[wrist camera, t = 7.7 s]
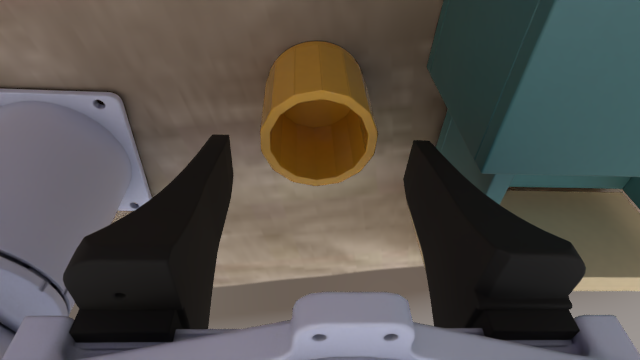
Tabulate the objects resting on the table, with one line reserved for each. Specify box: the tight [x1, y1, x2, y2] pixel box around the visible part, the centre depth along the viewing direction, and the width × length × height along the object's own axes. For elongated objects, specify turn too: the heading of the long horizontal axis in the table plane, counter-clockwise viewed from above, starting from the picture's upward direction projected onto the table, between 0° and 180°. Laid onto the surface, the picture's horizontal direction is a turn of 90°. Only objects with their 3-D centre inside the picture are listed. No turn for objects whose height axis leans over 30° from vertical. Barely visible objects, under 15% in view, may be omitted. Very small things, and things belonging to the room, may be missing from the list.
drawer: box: [407, 110, 640, 298], centre depth 20 cm, size 18×13×6 cm
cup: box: [260, 41, 378, 186], centre depth 18 cm, size 5×5×5 cm
